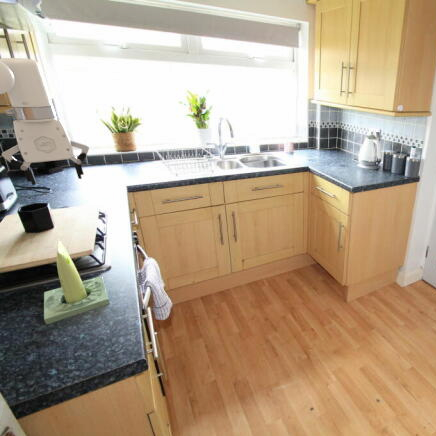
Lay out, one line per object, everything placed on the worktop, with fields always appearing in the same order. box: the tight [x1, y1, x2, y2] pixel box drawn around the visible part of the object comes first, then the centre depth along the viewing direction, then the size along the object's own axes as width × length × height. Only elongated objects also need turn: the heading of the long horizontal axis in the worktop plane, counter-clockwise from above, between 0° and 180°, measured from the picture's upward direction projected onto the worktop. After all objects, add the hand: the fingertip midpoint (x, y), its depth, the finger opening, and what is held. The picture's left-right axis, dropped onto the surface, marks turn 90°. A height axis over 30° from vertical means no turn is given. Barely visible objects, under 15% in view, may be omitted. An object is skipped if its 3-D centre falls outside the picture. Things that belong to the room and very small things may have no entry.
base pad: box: [43, 275, 111, 325], centre depth 91 cm, size 14×14×3 cm
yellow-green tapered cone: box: [55, 238, 89, 304], centre depth 88 cm, size 6×5×20 cm
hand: (57, 180), depth 85 cm, fingers open, 9 cm apart
